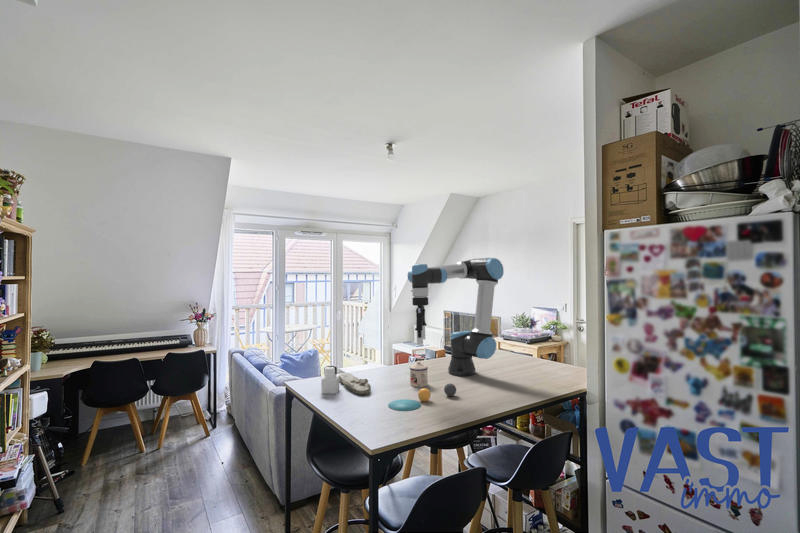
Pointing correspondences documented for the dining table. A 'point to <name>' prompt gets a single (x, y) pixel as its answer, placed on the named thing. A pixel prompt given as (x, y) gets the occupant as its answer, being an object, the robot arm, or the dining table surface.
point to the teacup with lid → (418, 375)
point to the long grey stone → (355, 384)
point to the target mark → (404, 405)
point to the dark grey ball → (450, 389)
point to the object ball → (424, 394)
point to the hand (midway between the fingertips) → (421, 341)
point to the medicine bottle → (330, 380)
